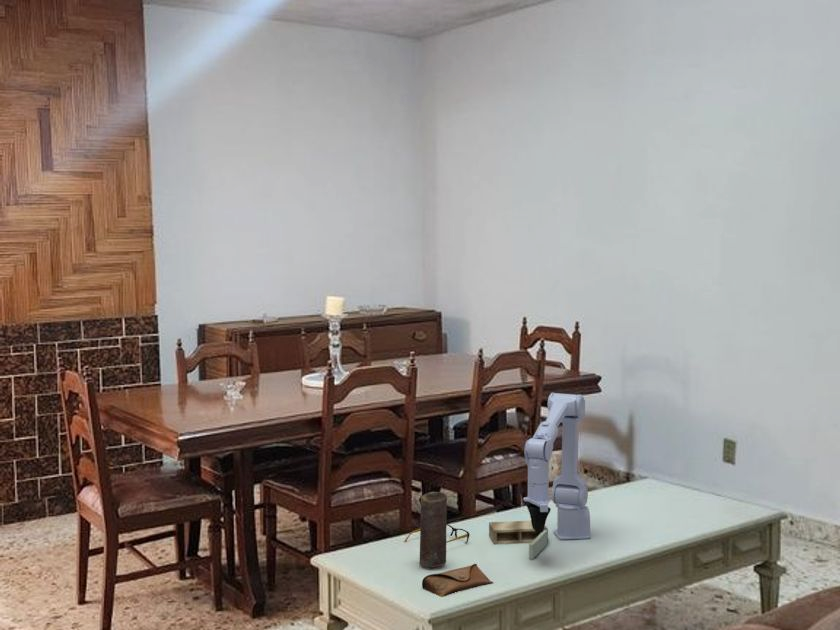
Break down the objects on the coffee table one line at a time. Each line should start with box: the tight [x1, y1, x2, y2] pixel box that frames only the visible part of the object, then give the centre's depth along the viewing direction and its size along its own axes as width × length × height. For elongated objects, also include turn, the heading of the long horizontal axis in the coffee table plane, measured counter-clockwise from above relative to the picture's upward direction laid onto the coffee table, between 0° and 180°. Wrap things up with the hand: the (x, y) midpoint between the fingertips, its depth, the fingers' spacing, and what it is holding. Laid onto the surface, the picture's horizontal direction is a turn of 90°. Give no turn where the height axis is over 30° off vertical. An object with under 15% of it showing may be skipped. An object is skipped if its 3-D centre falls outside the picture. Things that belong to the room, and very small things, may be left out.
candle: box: [419, 491, 448, 569], centre depth 269 cm, size 8×7×20 cm
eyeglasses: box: [403, 523, 471, 544], centre depth 290 cm, size 14×14×4 cm
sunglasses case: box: [421, 563, 494, 598], centre depth 256 cm, size 18×7×7 cm, turn 126°
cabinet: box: [488, 520, 548, 545], centre depth 293 cm, size 16×8×4 cm, turn 96°
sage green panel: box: [528, 528, 549, 560], centre depth 282 cm, size 16×1×4 cm, turn 156°
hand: (538, 530), depth 271 cm, fingers closed
